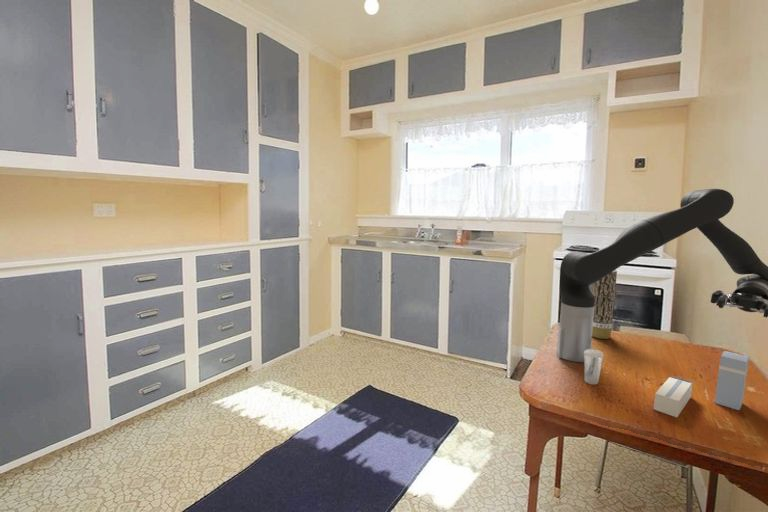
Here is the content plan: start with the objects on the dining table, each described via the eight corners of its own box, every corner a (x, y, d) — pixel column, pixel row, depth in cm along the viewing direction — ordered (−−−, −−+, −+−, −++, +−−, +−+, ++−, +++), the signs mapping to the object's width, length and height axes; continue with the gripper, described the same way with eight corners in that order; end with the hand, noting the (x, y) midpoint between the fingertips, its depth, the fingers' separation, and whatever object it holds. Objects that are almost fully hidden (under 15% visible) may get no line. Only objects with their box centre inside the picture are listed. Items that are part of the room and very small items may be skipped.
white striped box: (669, 389, 98) (671, 374, 98) (691, 396, 95) (693, 380, 95) (653, 409, 89) (655, 392, 88) (677, 417, 86) (679, 400, 85)
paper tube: (585, 333, 141) (591, 267, 138) (602, 333, 142) (608, 267, 138) (597, 340, 135) (603, 270, 131) (615, 339, 135) (621, 270, 132)
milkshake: (598, 378, 105) (601, 343, 103) (602, 387, 100) (605, 351, 98) (579, 375, 106) (582, 341, 105) (583, 384, 101) (586, 348, 100)
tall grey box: (717, 396, 95) (724, 350, 94) (742, 403, 92) (749, 356, 90) (714, 402, 92) (720, 356, 90) (739, 410, 89) (746, 362, 87)
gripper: (721, 277, 112) (709, 288, 101) (791, 288, 101) (786, 302, 91) (716, 301, 113) (704, 314, 103) (785, 315, 103) (779, 331, 92)
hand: (742, 308), depth 97 cm, fingers open, 8 cm apart
